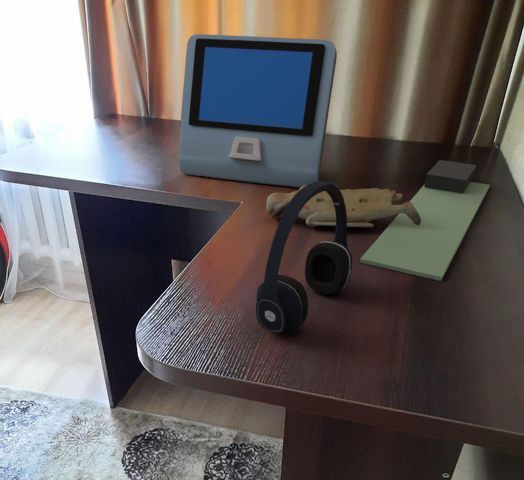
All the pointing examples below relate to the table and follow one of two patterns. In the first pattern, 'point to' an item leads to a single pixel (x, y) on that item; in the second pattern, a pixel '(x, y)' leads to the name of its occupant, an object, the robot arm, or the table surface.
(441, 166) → the black device
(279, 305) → the headphones
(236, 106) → the touchscreen device
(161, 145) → the table surface
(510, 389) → the table surface
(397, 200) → the statue
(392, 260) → the green mat
